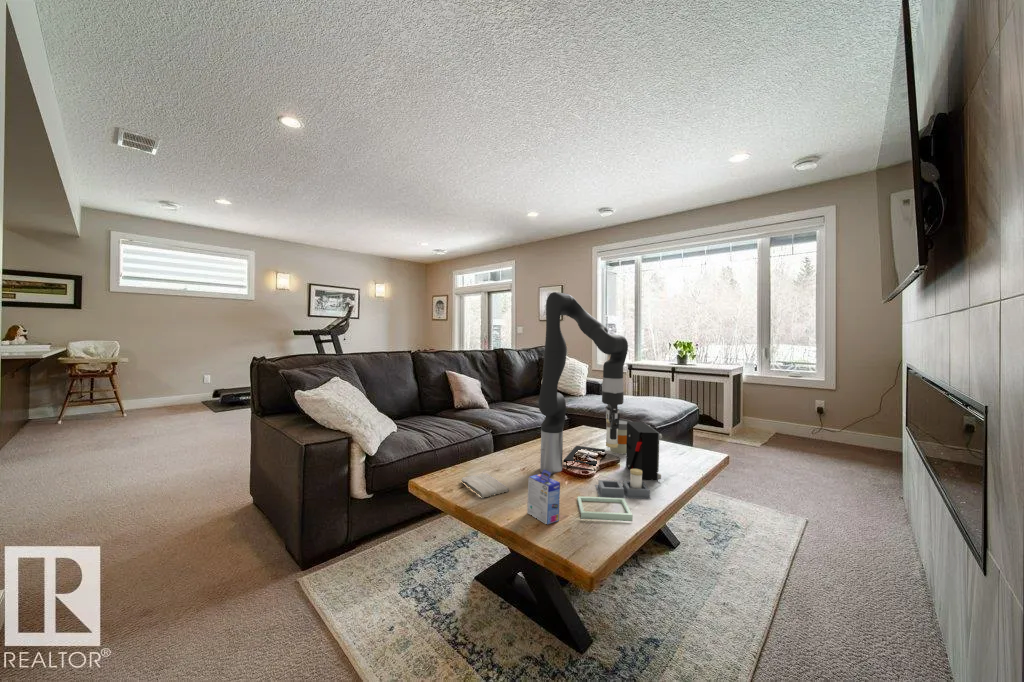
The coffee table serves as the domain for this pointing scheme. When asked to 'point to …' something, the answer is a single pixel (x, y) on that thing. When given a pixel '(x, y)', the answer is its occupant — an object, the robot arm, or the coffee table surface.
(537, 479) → the ink cartridge box
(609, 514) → the pale green rectangular frame
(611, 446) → the fuse
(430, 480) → the coffee table surface
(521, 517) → the coffee table surface
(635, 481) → the fuse block
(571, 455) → the dark grey flat frame
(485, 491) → the washcloth
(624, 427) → the reusable coffee cup
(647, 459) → the electrical component
